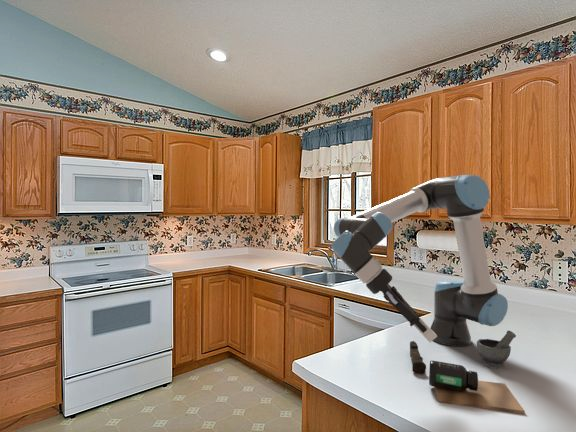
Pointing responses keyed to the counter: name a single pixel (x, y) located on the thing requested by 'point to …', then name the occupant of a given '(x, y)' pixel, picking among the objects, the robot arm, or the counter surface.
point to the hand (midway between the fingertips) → (433, 338)
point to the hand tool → (416, 359)
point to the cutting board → (482, 397)
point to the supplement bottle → (452, 377)
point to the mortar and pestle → (495, 350)
